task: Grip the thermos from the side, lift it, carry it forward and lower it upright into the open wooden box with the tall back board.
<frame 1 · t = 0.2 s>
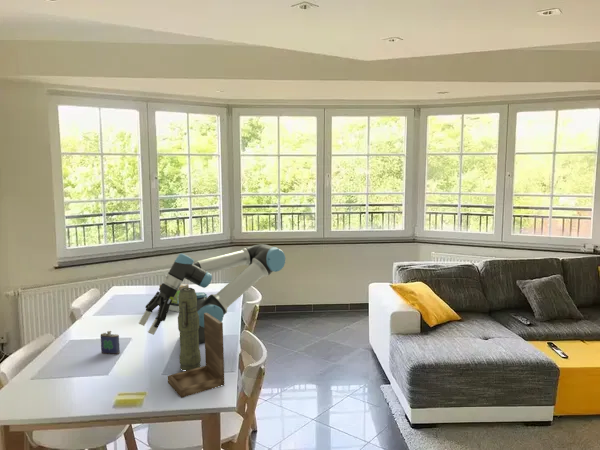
hand: (145, 329, 213), 15 cm above the table, tool tilted 35°, fingers open, 13 cm apart
flask: (110, 353, 225), on the table
tea box: (175, 308, 290), on the table
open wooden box: (196, 383, 194), on the table
thermos: (190, 367, 210), on the table
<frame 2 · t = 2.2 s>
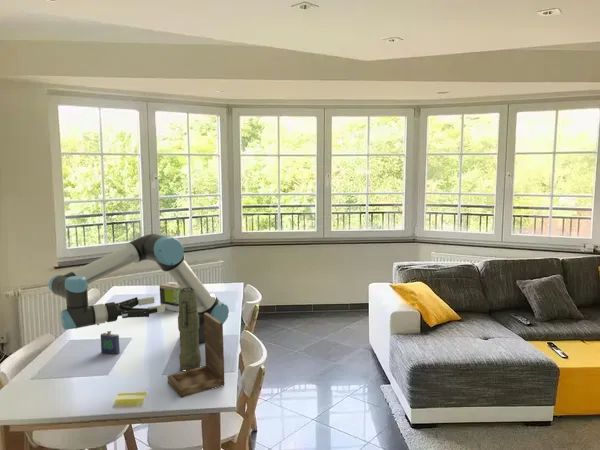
hand: (159, 303, 200), 30 cm above the table, tool horizontal, fingers open, 13 cm apart
nothing on the table moved.
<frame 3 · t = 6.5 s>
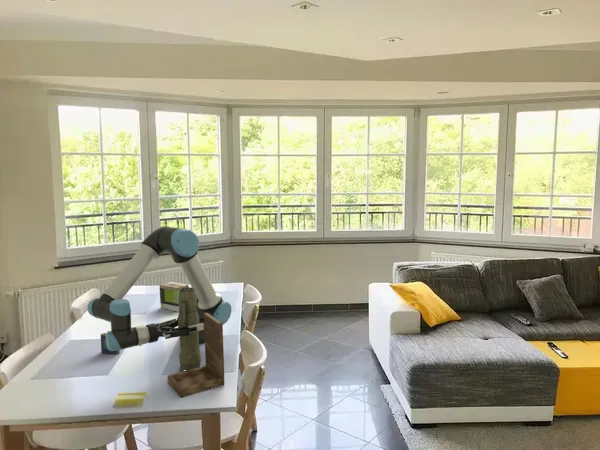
hand: (198, 323, 209), 19 cm above the table, tool horizontal, fingers closed on thermos, 9 cm apart
thermos: (190, 367, 210), on the table, touching gripper
everything else where it was.
when the fingers open (21 cm above the table, at t = 13.0 s): thermos moves 2 cm, resting on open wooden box.
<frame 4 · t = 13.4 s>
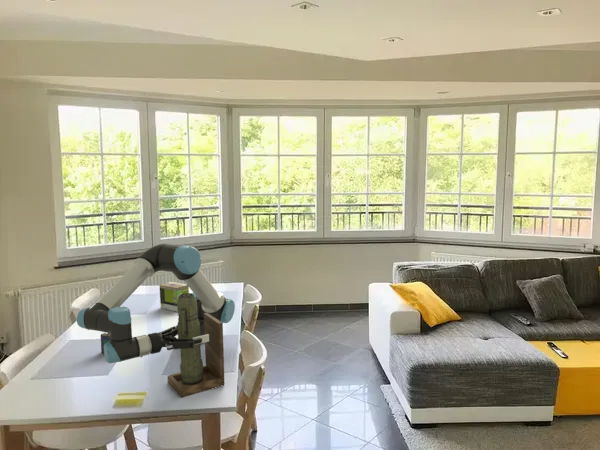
hand: (201, 332, 193), 21 cm above the table, tool horizontal, fingers open, 13 cm apart
thermos: (192, 379, 195), point 2 cm above the table, touching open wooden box, gripper
everything else where it was.
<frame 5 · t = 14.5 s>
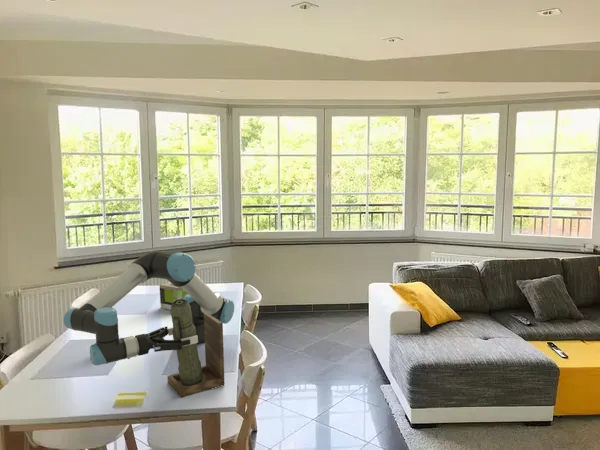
hand: (190, 333, 190), 22 cm above the table, tool horizontal, fingers open, 13 cm apart
thermos: (191, 379, 195), point 2 cm above the table, touching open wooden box
everything else where it was.
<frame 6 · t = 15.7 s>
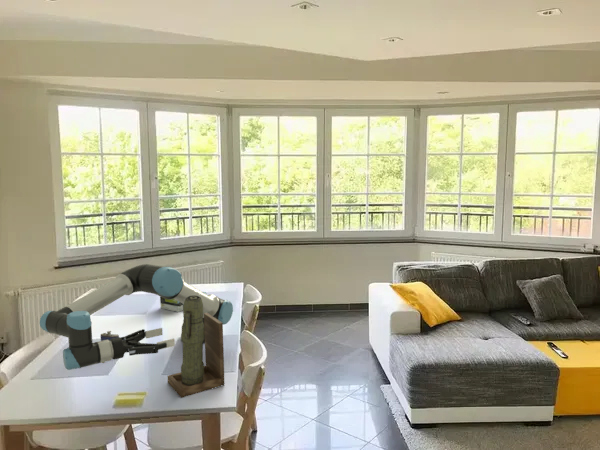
hand: (168, 336, 187), 22 cm above the table, tool horizontal, fingers open, 13 cm apart
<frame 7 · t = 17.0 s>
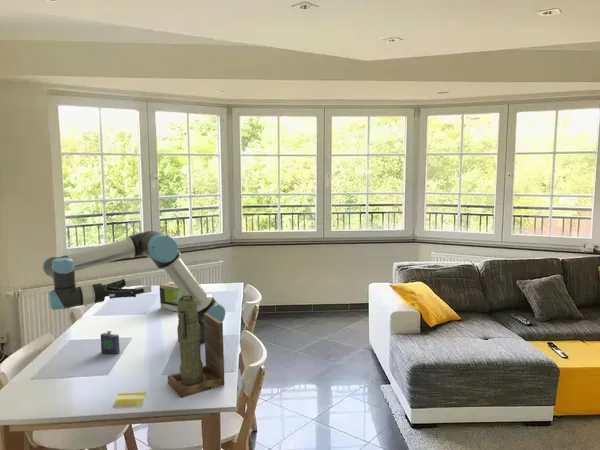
hand: (145, 284, 205), 37 cm above the table, tool horizontal, fingers open, 13 cm apart
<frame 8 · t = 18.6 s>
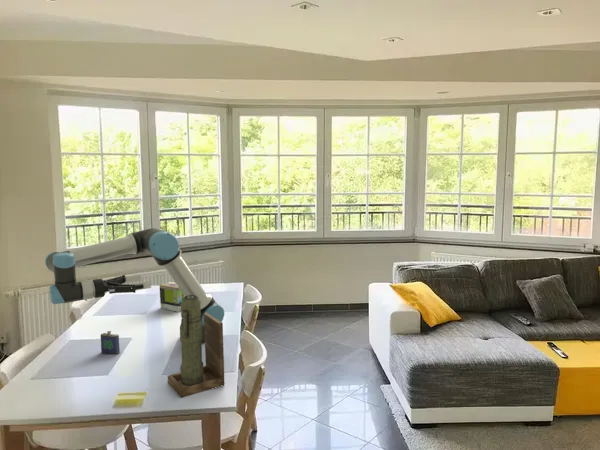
hand: (145, 281, 206), 38 cm above the table, tool horizontal, fingers open, 13 cm apart
at the end: thermos 1.7 cm off-centre on the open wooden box, point 1.2 cm above the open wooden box's base; thermos tilted 5°; the gripper is holding nothing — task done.
